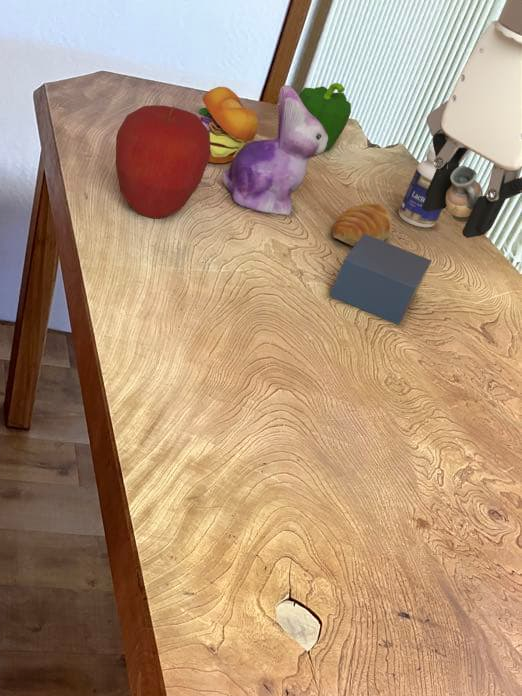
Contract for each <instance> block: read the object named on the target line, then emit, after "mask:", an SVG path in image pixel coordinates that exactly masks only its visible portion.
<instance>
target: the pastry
mask: <svg viewBox="0 0 522 696" xmlns="http://www.w3.org/2000/svg"><path fill="white" fill-rule="evenodd" d="M331 233H332V238H334V239H337V240H339V241H341V242H343V243H345V244H347V245H349V246H352V247H354V246H355V245H356V243H357V242H358V241H359V240H360V238H361V237H362V236H363V234H367V235H369V236H372V237H374V238H377V239H379V240H382V241H384V242H385V240H386V239H387V238H388V237H389V236H391V235H392V233H393V227H392V221H391V214H390V212H389V211H388V210H387V209H386V207H385V206H383V205H381V204H379V203H370V202H368V201H366V202H365V203H361V204H359V205H357V206H352V207H348V209H347V210H344V212H342V213H341V214H340V215H339V216H338V217H337V219H336V221H335V224H334V225H333V228H332V231H331Z"/></svg>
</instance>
